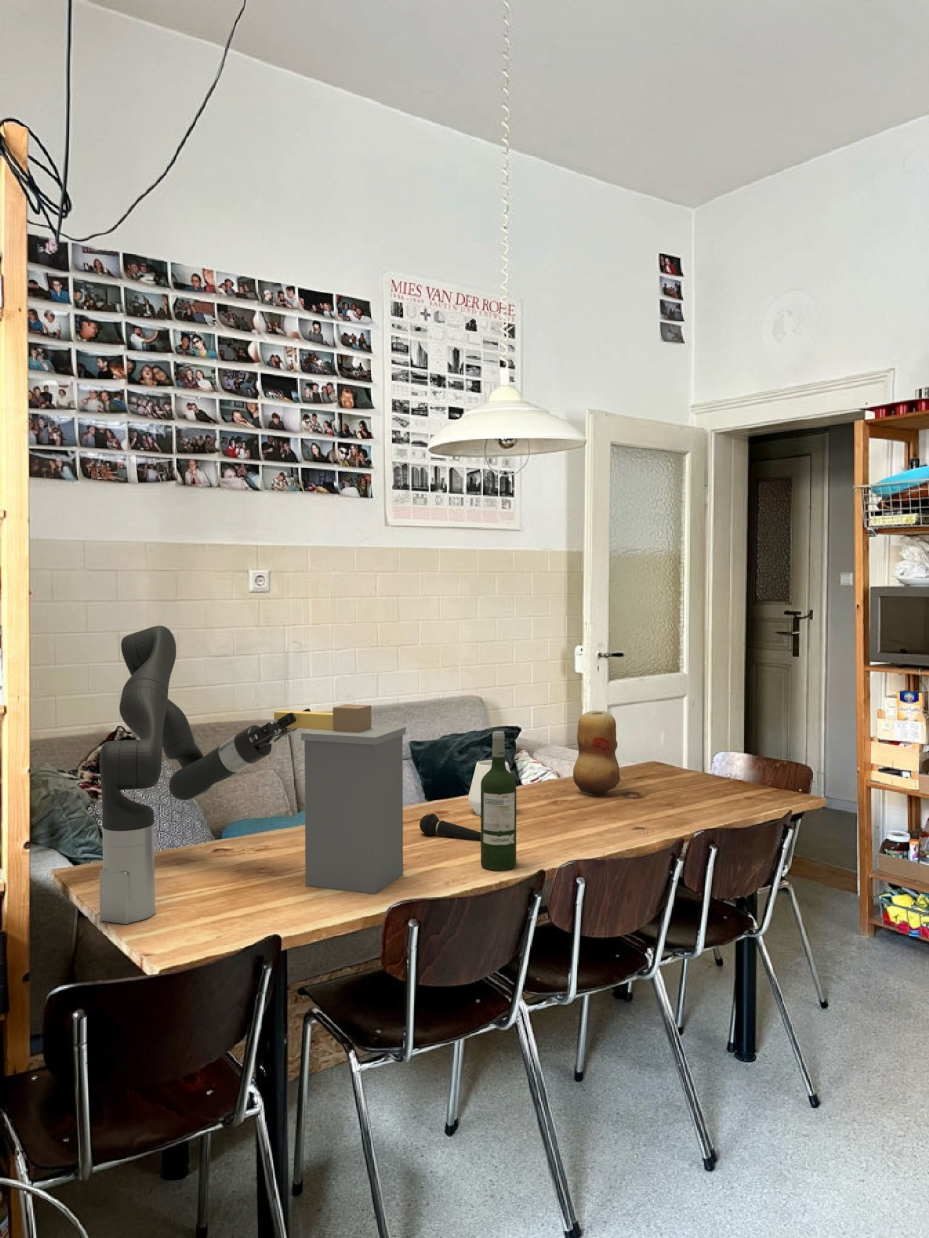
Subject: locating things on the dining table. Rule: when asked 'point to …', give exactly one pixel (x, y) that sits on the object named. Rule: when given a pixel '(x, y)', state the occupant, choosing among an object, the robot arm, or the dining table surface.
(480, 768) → the cup
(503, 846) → the wine bottle
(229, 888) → the dining table surface
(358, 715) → the peg
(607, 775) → the butternut squash
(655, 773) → the dining table surface
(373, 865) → the stand
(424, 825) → the microphone
